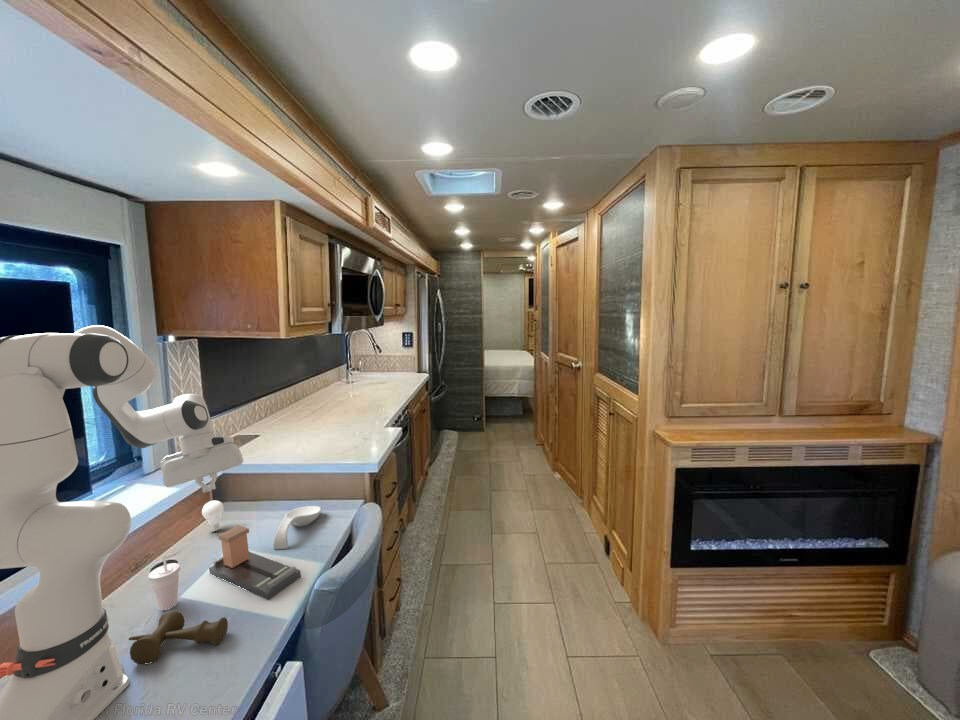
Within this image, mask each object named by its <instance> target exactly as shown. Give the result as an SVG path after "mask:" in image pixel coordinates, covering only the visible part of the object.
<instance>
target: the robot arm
mask: <svg viewBox="0 0 960 720" xmlns="http://www.w3.org/2000/svg"><path fill="white" fill-rule="evenodd" d="M156 373H157V371H156V366H155V364H154V362H153V361H152V360H151V358H150V357H149V356H148V355H147V354H146V353H145V352H144V351H143V350H142V349H141V348H140V347H139V346H138V345H136V343H134V342H133V341H132V340H131V339H130V338H128V337H127V336H124V335H123V334H122V333H121V332H118V331H117V330H115V329H114V328H112V327H109V326H105V325H100V324H98V325H97V324H96V325H90V326H86V327H83V328H80V329H78V330H76V331H75V332H74V333H63V332H62V333H59V332H44V333H32V334H31V333H30V334H24V335H19V334H14V335H13V334H12V335H8V336H2V337H0V570H3V569H4V570H5V569H14V568H15V569H16V568H26V567H36V568H37V569H38V572H39V581H38V583H36V584H35V585H34V586H32V587H31V588H30V589H28V590H27V591H26V592H25V593H24V594H23V595H22V596H21V598H20V599H19V601H18V602H17V603H16V606H15V608H14V615H15V616H14V617H15V620H16V621H15V622H16V628H17V633H18V639H19V644H18V645H17V648H16V653H15V658H14V661H13V662H7V661H6V662H3V663H0V678H2V677H5V676H9V677H10V676H11V677H10V679H8V682H7V683H6V685H5V687H4V688H3V689H2V691H1V692H0V720H95V719H96V718H97V717H98V716H99V715H100V714H101V713H102V712H103V711H104V710H105V709H106V708H107V707H108V706H109V705H110V704H111V703H112V702H113V701H114V700H115V699H116V698H117V697H118V696H119V695H120V694H121V693H122V692H123V691H124V690H125V689H126V688H127V687H128V686H129V685H130V679H129V676H128V675H126V674H125V673H124V667H123V664H121V662H120V658H119V655H118V653H117V648H116V646H115V644H114V643H113V641H112V640H111V638H110V636H109V633H108V630H109V627H110V626H109V616H108V615H107V610H106V608H104V607H103V600H102V599H103V598H102V591H101V590H102V589H101V575H102V570H103V567H104V565H105V563H106V561H107V559H108V558H109V556H111V554H112V553H114V552H115V551H116V550H118V549H119V548H120V547H121V546H122V544H124V542H125V541H126V539H127V537H128V536H129V534H130V531H131V527H132V517H131V513H130V512H129V510H128V508H127V507H126V506H125V505H124V504H122V503H121V502H120V503H119V502H114V501H108V500H99V499H98V500H97V499H87V500H75V501H74V500H73V501H62V502H61V501H58V499H57V495H56V494H57V487H58V484H59V483H61V482H63V481H65V479H67V478H68V477H69V476H71V475H72V473H73V472H74V471H75V470H76V468H77V467H78V463H79V458H78V454H77V449H76V443H75V438H74V433H73V427H72V423H71V420H70V414H69V413H68V409H67V407H66V404H65V402H64V399H63V398H64V395H65V391H66V390H68V389H77V388H85V387H93V388H92V396H93V397H92V398H93V399H94V402H95V403H96V404H97V406H98V407H99V408H100V410H101V411H102V412H103V413H104V414H105V416H106V417H107V418H108V419H109V420H110V421H111V423H113V424H114V426H115V427H116V428H117V429H118V430H119V432H120V434H121V435H122V437H123V439H124V441H125V442H126V443H127V445H128V444H129V445H130V446H131V447H135V448H139V449H146V448H148V447H151V446H153V445H156V444H158V443H161V442H164V441H165V442H166V441H167V440H171V439H175V438H178V443H179V448H180V451H179V452H175V453H173V454H170V455H166V456H164V457H163V458H162V459H161V460H160V462H159V467H160V469H161V471H162V483H163V485H164V486H165V487H166V488H173V487H175V486H176V487H177V486H180V485H182V484H186V483H188V482H192V481H195V483H196V484H197V485H198V486H199V487H200V488H202V489H201V490H202V492H203V494H204V493H208V492H210V491H213V490H216V489H217V487H216V481H217V479H218V473H219V472H220V473H221V472H222V471H226V470H229V469H232V468H235V467H238V466H241V465H243V462H244V458H243V455H242V453H241V452H242V451H241V450H240V448H239V446H238V445H237V444H235V439H234V437H232V436H228V435H217V436H216V435H215V431H214V430H213V428H212V427H211V416H210V412H209V409H208V405H207V403H206V401H205V399H204V397H203V396H202V395H201V394H198V393H185V394H180V395H178V396H175V398H174V399H173V400H172V403H168V404H165V405H162V406H158V407H155V408H152V409H147V410H139V411H138V410H134V408H133V407H132V405H130V403H129V402H130V401H132V400H133V399H135V398H138V397H139V396H141V395H143V394H144V393H146V392H147V390H148V389H150V388H151V386H152V384H153V383H154V381H155V378H156ZM207 476H209V478H210V479H211V480H210V484H207V485H206V484H205V483H204V477H207Z"/></svg>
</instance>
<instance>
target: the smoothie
mask: <svg viewBox="0 0 960 720" xmlns="http://www.w3.org/2000/svg"><path fill="white" fill-rule="evenodd" d="M166 558H167V557H166V554H165V553H163V554H162V563H163V565H161V566H158V567H156V568H154V569H152V571H150V573H148V582H150V584H151V586H152V589H153V593H154V596H155V599H156V602H157V606H158V608H159V610H160V611H161V610H165V609H168V608H171V607H173V606H174V605H175V606H176V605H177V604H178V603H177V602H178V601H179V572H180V570H181V567H180V564H179V563H176V562H172V563H167V559H166ZM175 606H174V607H175ZM174 607H173V608H174ZM171 609H172V608H171ZM168 610H169V609H168ZM165 611H166V610H165Z"/></svg>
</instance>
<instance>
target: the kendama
mask: <svg viewBox="0 0 960 720" xmlns="http://www.w3.org/2000/svg"><path fill="white" fill-rule="evenodd" d="M185 622H186V620H185V616H184V614H182V612H179V611H177V610H170V611H169V610H168V611H165V613H163V614H161V616H160V617H159V619H158V623H157V627H156V629H155V630H154V631H153V632H152V633H151V634H150V633H149V634H142V635H133V636H130V637H129V638H128V641H134V642H133V643H132V644H131V645H130V649H129V655H130V659H131V660H132V661H133V662H134V663H135V664H137V665H139V664H145V663H150V662H153V663H155V662H156V661H158V659H159V658H160V656H161V653H162V645H163V643H164V642H165V641H166V640H182V641H192V642H194V643H195V644H196V645H197V646H198V645H201V644H203V643H206V642H208V643H209V642H210V643H213V645H215V646H218V645H220V644H221V643H222V642H224V639H225V637H226V635H227V631H228V627H229V626H228V625H229V622H228V619H227V618H226V617H225V616H224V617H221V618H220V619H218V620H217V621H213V622H210V621H208V620H207V619H206V620H203V621H202V622H201V623H199V624H197V625H195V626H191V627H186V628H184V626H185ZM154 661H155V662H154Z"/></svg>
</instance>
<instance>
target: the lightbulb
mask: <svg viewBox="0 0 960 720" xmlns="http://www.w3.org/2000/svg"><path fill="white" fill-rule="evenodd" d="M224 510H225V509H224V504H223V502H222V501H220V500H215V499H214V500H209V501H208V502H207V503H205V504H204V505H203V507H202V509H201V515H202V517H203V518H204V519H205V520H206V521H207V523H208V524H209V529H210V531H211V532H212V533H215V531H216V532H217V531H219V530H220V528H221V527H220V521H221V516H222V514H223V513H224Z"/></svg>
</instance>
